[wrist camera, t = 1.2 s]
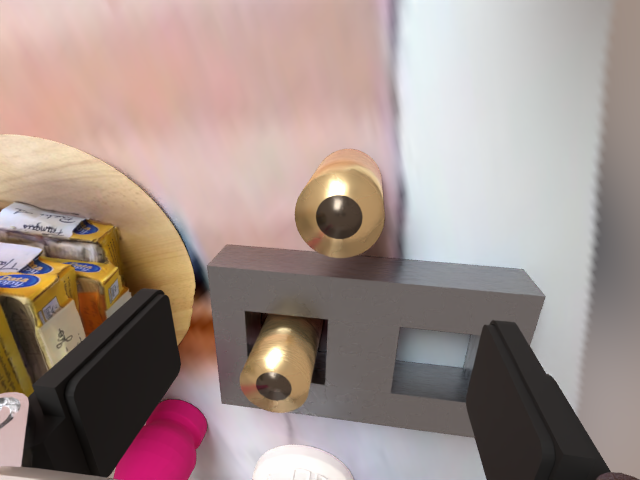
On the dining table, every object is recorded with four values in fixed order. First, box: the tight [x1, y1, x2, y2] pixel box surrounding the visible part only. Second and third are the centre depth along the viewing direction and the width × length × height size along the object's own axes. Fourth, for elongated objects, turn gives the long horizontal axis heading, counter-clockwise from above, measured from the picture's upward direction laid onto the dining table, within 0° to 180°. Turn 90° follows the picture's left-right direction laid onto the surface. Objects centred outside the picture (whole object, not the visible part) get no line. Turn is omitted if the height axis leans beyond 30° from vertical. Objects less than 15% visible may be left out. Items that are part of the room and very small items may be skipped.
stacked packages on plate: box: [0, 134, 196, 397], centre depth 27 cm, size 25×25×17 cm
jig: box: [207, 245, 546, 438], centre depth 29 cm, size 14×24×8 cm, turn 88°
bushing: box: [295, 149, 385, 258], centre depth 24 cm, size 5×5×8 cm
